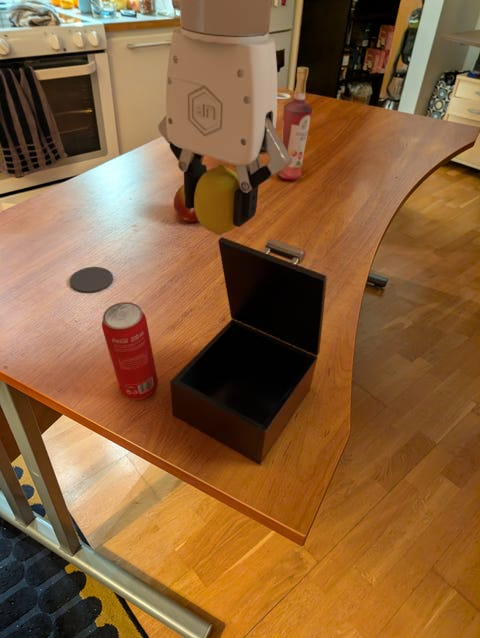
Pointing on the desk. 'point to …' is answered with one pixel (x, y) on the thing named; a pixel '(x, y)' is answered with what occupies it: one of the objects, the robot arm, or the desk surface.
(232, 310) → the lid
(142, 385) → the beverage can
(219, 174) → the lemon
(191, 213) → the fruit
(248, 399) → the black open square box
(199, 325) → the desk surface
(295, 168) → the liquor
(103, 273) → the coaster
